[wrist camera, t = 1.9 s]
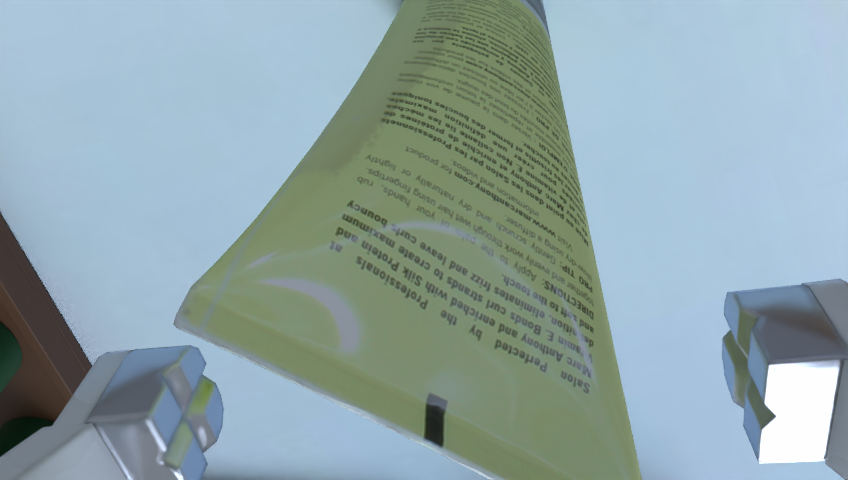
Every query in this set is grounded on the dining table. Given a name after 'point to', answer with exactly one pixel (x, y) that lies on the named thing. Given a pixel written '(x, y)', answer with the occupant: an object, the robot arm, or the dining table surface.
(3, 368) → the bottle
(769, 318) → the robot arm
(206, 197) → the dining table surface
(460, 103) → the tube
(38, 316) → the tray
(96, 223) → the dining table surface
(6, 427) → the bottle
